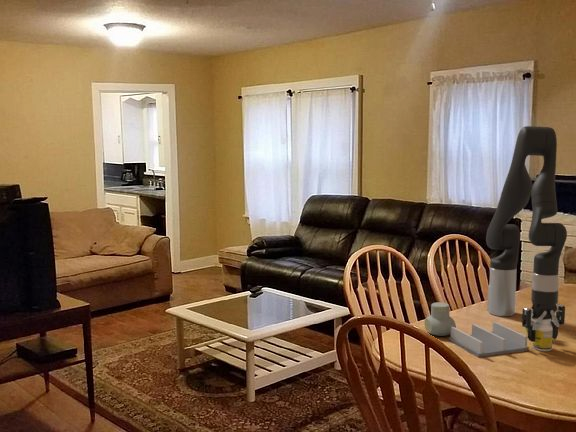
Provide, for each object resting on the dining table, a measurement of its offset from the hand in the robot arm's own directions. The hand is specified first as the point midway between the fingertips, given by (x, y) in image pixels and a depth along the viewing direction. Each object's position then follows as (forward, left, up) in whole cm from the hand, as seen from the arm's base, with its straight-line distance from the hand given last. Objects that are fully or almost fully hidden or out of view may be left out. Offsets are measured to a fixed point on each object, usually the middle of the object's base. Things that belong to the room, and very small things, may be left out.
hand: (542, 339), depth 187 cm
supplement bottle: (0, 0, -3) cm, 3 cm away
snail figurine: (-11, +6, -3) cm, 13 cm away
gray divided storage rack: (-8, -14, -3) cm, 16 cm away
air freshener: (-23, -22, -3) cm, 32 cm away
